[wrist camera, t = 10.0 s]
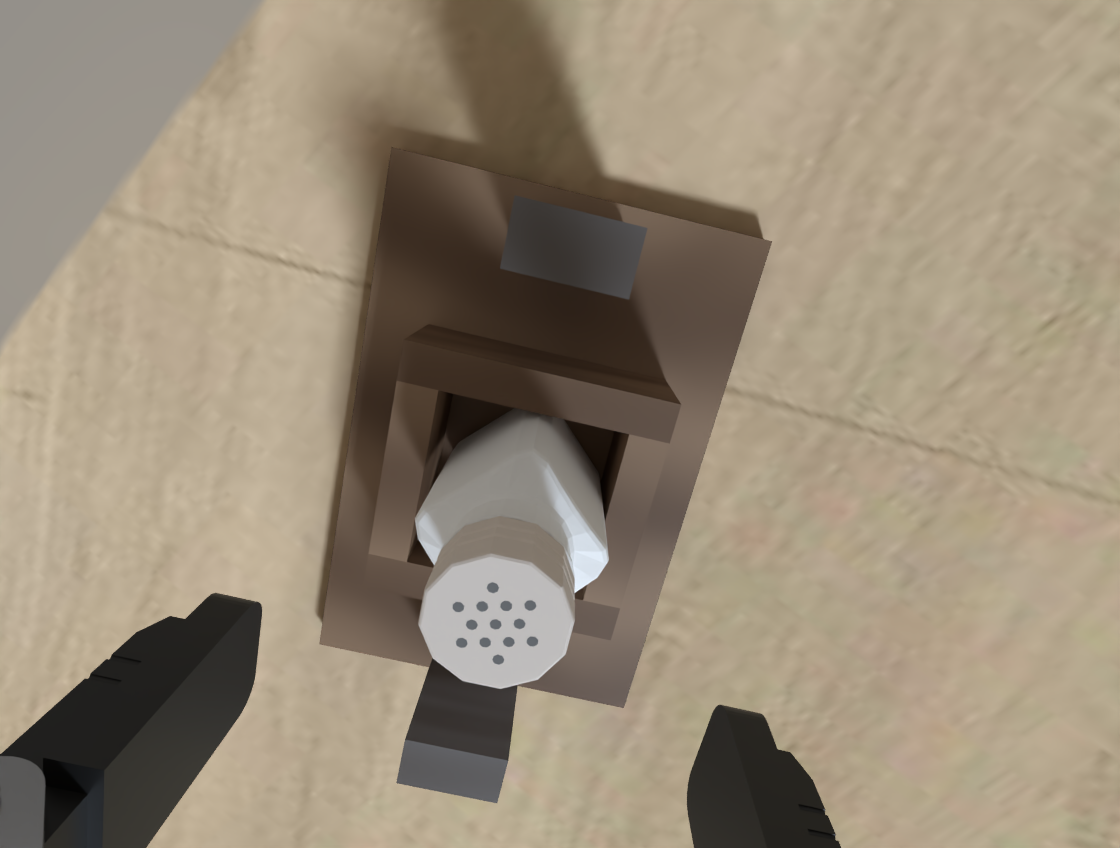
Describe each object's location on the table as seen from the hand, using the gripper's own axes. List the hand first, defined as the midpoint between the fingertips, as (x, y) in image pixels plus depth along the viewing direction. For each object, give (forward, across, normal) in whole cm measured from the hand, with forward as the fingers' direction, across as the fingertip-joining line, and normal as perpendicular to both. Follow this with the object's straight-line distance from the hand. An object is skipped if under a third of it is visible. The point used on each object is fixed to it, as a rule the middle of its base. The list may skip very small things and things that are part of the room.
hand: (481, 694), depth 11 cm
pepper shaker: (+12, 0, 0) cm, 12 cm away
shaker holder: (+12, 0, 0) cm, 12 cm away
